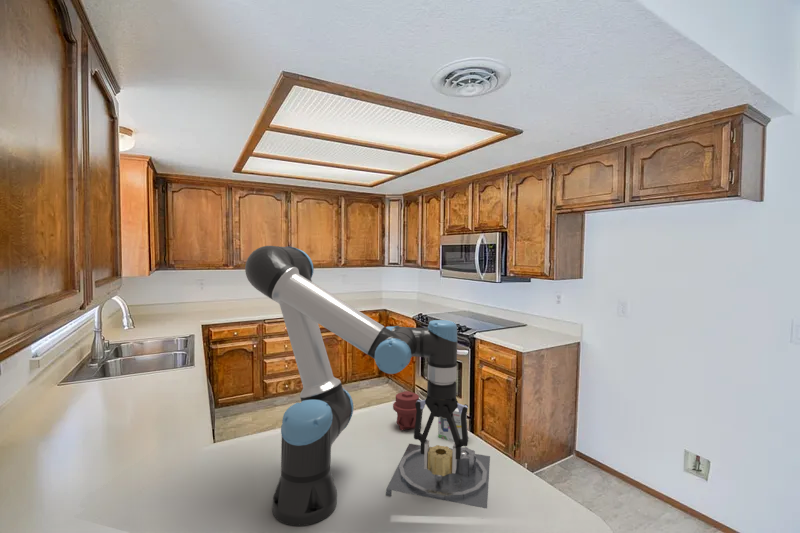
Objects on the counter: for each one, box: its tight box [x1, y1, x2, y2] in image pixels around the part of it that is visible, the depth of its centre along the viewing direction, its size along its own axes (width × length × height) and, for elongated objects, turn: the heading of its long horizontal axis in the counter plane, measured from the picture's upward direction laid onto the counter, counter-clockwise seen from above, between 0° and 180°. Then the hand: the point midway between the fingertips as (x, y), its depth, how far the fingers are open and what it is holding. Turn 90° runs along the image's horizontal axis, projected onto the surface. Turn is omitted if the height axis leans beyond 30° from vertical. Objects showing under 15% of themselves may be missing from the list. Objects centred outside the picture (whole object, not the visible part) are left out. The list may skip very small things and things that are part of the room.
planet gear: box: [427, 444, 453, 476], centre depth 99 cm, size 7×7×4 cm
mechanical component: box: [392, 390, 420, 431], centre depth 136 cm, size 12×10×10 cm
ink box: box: [437, 408, 468, 443], centre depth 125 cm, size 9×5×12 cm, turn 62°
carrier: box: [385, 443, 491, 509], centre depth 105 cm, size 25×25×6 cm
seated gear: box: [456, 446, 476, 475], centre depth 107 cm, size 7×7×4 cm
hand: (440, 468), depth 99 cm, fingers closed on planet gear, 7 cm apart
